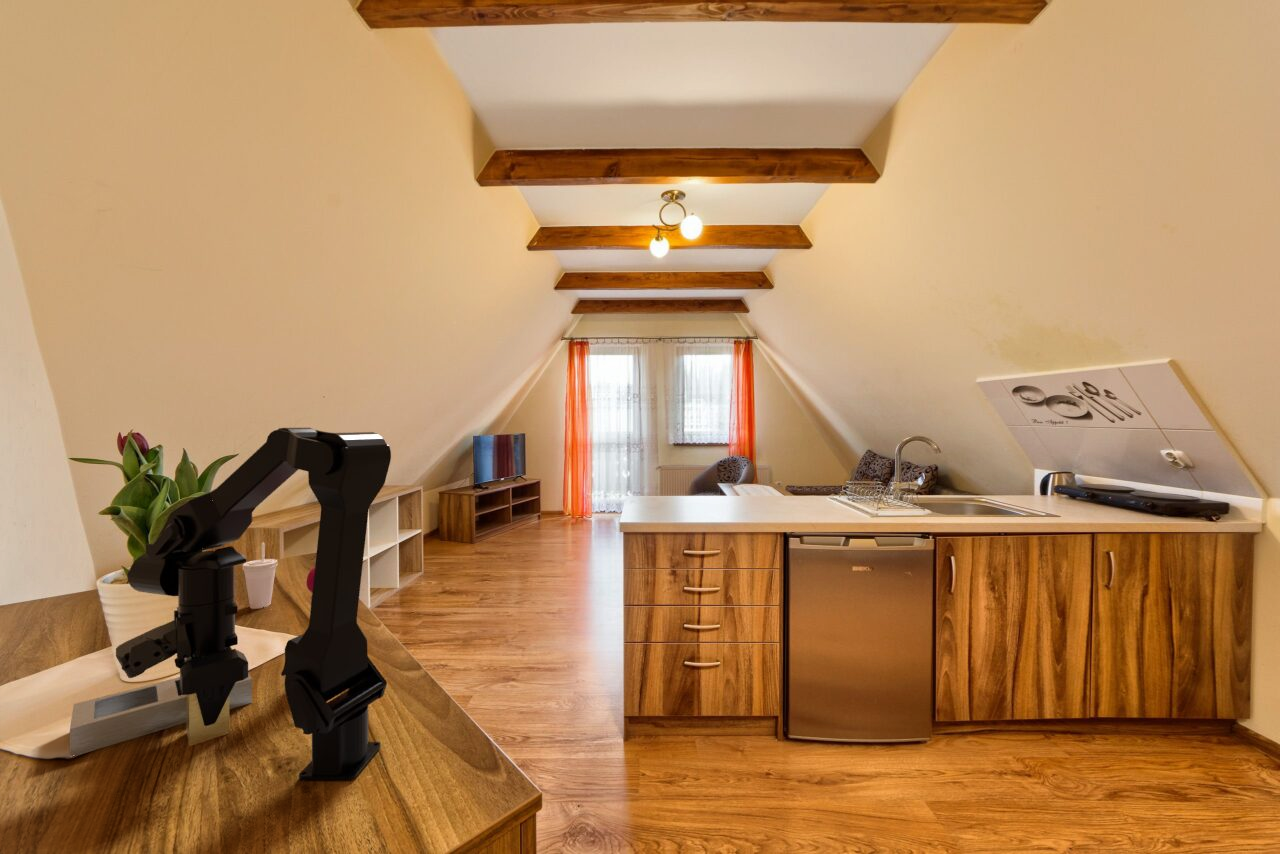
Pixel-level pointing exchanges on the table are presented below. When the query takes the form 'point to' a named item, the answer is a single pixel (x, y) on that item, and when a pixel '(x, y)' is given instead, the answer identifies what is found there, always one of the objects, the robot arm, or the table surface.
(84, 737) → the grey slotted block holder
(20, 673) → the table surface
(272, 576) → the smoothie
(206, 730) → the wooden toy block
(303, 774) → the robot arm
